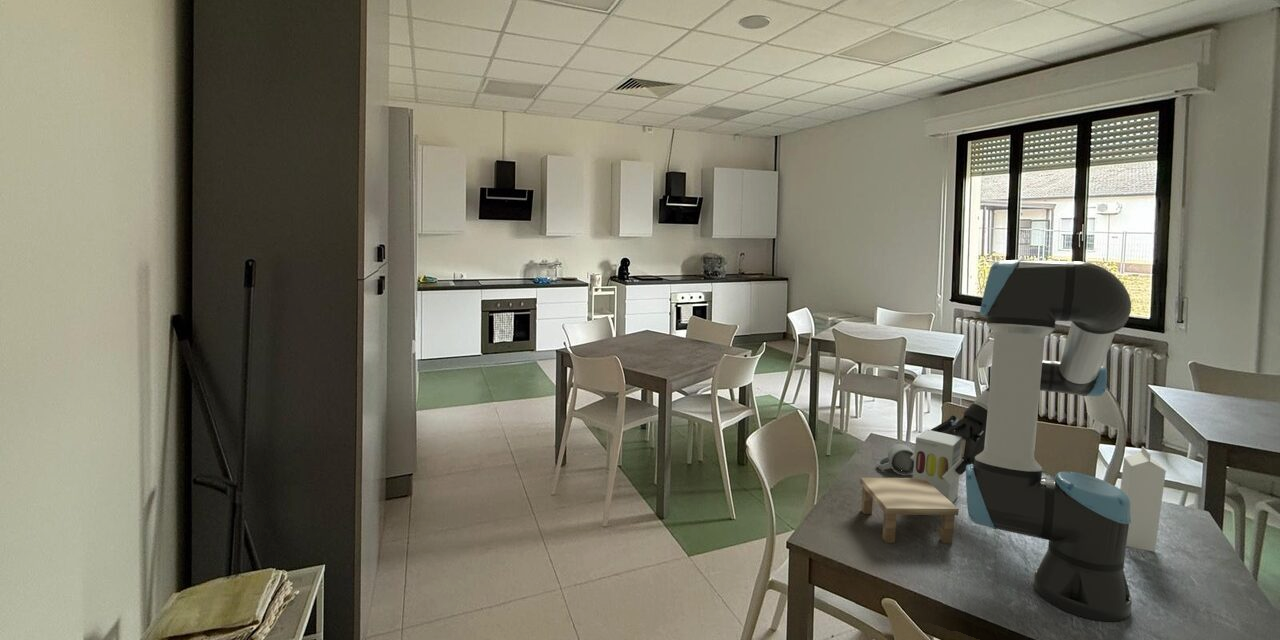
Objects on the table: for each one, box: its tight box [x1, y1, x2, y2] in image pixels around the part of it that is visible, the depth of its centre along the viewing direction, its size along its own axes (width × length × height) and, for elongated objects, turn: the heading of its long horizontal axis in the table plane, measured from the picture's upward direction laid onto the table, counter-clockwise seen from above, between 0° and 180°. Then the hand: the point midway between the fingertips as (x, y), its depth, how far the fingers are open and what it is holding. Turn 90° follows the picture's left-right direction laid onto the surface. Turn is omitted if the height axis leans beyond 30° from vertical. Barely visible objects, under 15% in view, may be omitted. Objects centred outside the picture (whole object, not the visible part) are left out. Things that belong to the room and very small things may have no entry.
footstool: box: [859, 477, 960, 544], centre depth 143 cm, size 17×16×8 cm
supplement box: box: [912, 428, 964, 503], centre depth 158 cm, size 10×9×17 cm
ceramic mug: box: [876, 443, 915, 476], centre depth 177 cm, size 11×8×8 cm
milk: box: [1119, 446, 1167, 553], centre depth 135 cm, size 6×6×22 cm
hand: (929, 470), depth 158 cm, fingers closed on supplement box, 13 cm apart
